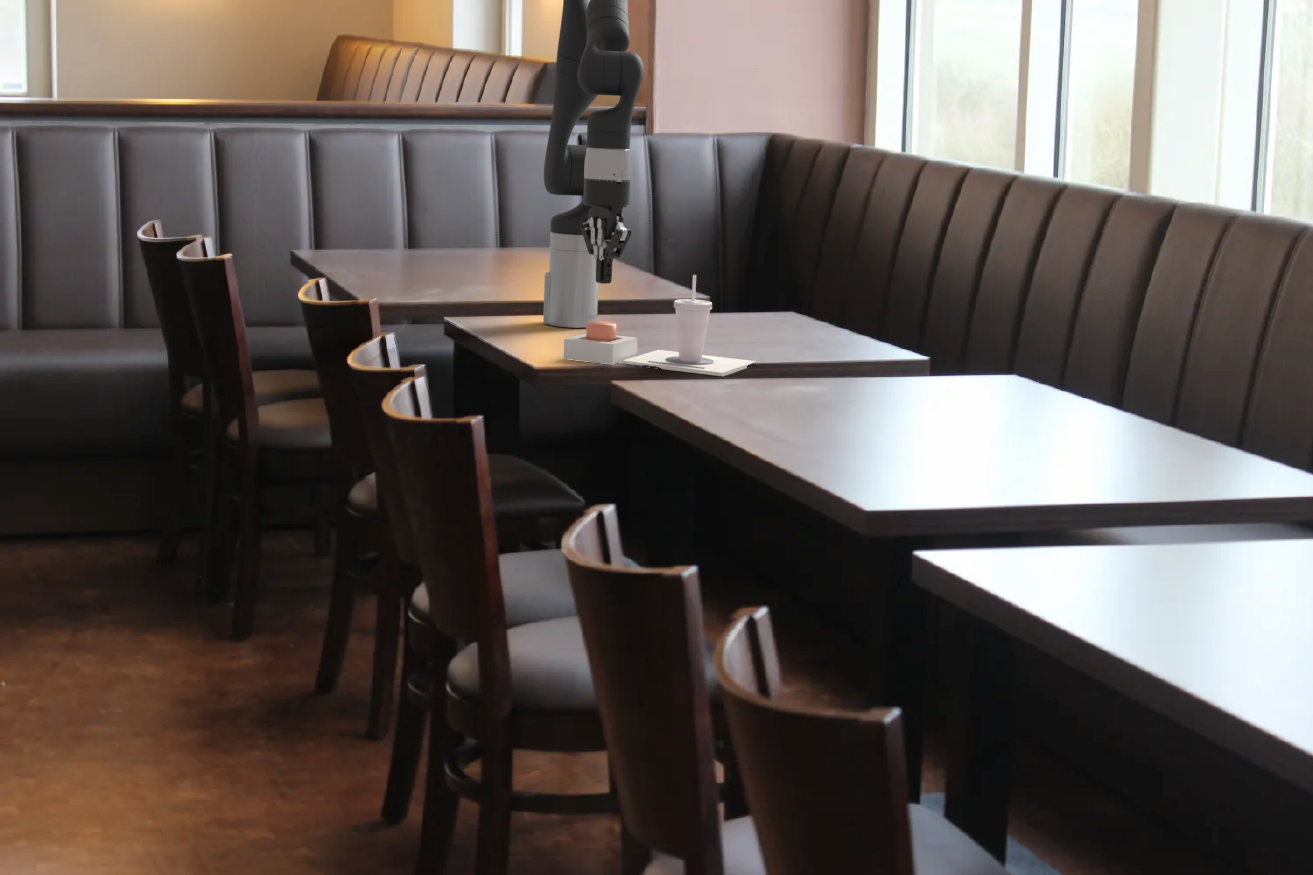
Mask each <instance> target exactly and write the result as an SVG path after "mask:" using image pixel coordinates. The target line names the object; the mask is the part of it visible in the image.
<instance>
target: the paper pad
mask: <svg viewBox="0 0 1313 875" xmlns="http://www.w3.org/2000/svg"><path fill="white" fill-rule="evenodd" d="M622 362H624V363H632V364H640V365H648V366H656V367H659V368H661V369H660V370H666V371H667V370H668V371H675V372H683V373H693V374H699V375H708V376H716V377H725V376H729V375H731V374H735V373H737V372H740V371H742V370H745V369H748V368H747V366H748V365H750V364H752V363H755V362H756V363H757V360H748V359H742V358H741V359H740V358H732V357H724V356H715V355H707V354H705V355H704V354H702V360H701V361H699V362H687V361H681V360H679V351H671V350H665V349H664V350H662V349H657V350H653V351H649V352H645V353H643V354H640V355H637V356H636V357H632V358H629V359H625V360H622Z"/></svg>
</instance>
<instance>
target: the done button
mask: <svg viewBox="0 0 1313 875" xmlns="http://www.w3.org/2000/svg"><path fill="white" fill-rule="evenodd" d="M617 324H618V323H617V322H613V321H606V320H597V321H590V322H587V326H586V327H585V328H586V329H585V330H586V331H585V333H586V339H587V340H595V341H604V342H611V341H614V340H616V335H617V326H618V325H617Z"/></svg>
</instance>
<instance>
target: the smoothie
mask: <svg viewBox="0 0 1313 875" xmlns="http://www.w3.org/2000/svg"><path fill="white" fill-rule="evenodd" d="M696 284H697V274H692V284H691V286H692V287H691V288H692V289H691V290H692V291H691V299H690V298H689V299H688V298H684V299H681V298H680V299H676V300H674V301H673V308H675V309H674V310H675V320H676V333H677V334H676V336H677V347H678V349H677V350H678V351H677V352H679V360H681V361H687V362H699V361H701V360H702V355H704V354H703V353H704V347H705V342H706V336H707V331H708V330H707V329H708V324H709V319H710V314H711V313H710V312H711V310H712V309H713V302H712V301H710V300H704V299H696V292H697V291H696V289H697V285H696Z"/></svg>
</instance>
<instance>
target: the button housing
mask: <svg viewBox="0 0 1313 875" xmlns="http://www.w3.org/2000/svg"><path fill="white" fill-rule="evenodd" d="M636 356H638V337H633V336H626V335H625V336H624V335H617V334H616V340H614V341H611V342H604V341H595V340H587V339H586V332H585V333H581V334H577V335H573V336H570V337H566V338H565V337H564V338H563V360H564V359H573V360H582V361H589V362H595V363H607V364H614V363H618V362H620V361H622V360H625V359H629V358H632V357H636Z"/></svg>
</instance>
